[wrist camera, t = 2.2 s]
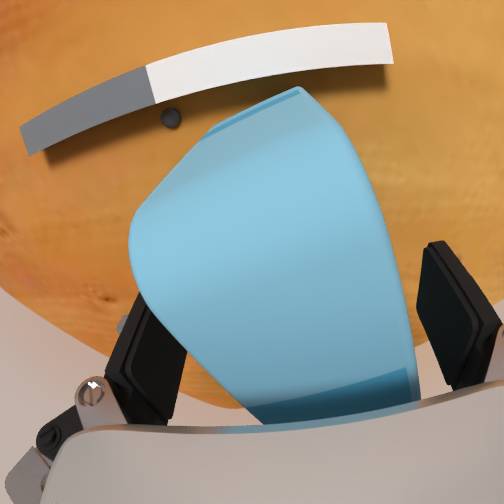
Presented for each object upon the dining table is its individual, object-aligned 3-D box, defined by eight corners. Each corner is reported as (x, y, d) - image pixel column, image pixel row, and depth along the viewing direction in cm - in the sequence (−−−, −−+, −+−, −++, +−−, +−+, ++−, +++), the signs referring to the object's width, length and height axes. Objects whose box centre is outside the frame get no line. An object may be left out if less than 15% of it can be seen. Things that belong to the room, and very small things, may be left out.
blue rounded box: (217, 120, 15) (96, 254, 5) (299, 82, 14) (357, 132, 4) (309, 291, 21) (318, 473, 11) (374, 268, 19) (425, 447, 9)
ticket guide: (376, 25, 11) (386, 22, 10) (389, 308, 21) (394, 323, 20) (34, 120, 15) (19, 127, 14) (133, 333, 24) (127, 346, 23)
